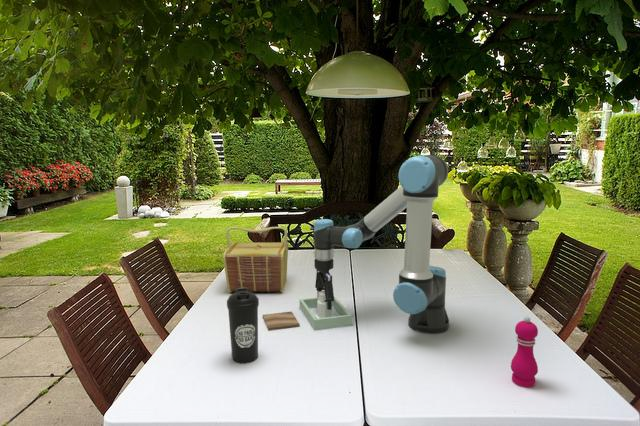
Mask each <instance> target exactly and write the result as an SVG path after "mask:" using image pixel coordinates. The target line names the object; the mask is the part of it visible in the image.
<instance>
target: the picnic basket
mask: <svg viewBox="0 0 640 426" xmlns="http://www.w3.org/2000/svg"><path fill="white" fill-rule="evenodd" d="M231 230H242V231H244V232H246V233H247V232H248V233H256V234H257V233H265V232H269V231H271V230H283V231H284V237H283V238H284V239H283V242H279V241H277V242H275V241H273V242H269V241H268V242H264V241H262V242H259V241H258V242H235V241H233V242H232V243H231V240H230V239H231V238H230V231H231ZM225 234H226V241H227V242H226V243H227V248H226V249H225V251H224V252H223V253H222V254H223V255H222V259H223V260H222V261H223V265H224V274H225V279H226V285H227V290H228V293H230V294H231V293H236V288H241V287H247V289H248V291H249V292H252V293H257V292H259V293H264V292H266V293H267V292H269V293H270V292H271V293H272V292H273V293H274V292H277V293H278V292H280V293H283V292H284V289H285V286H286V284H287V277H288V276H287V275H288V274H287V273H288V255H289V242H288V230H287V229H286V228H285V227H284V226H270V227H266V228H258V229H257V228H255V229H254V228H249V227H248V228H247V227H241V226H234V227H233V226H231V227H229V228H227V229H226V232H225Z"/></svg>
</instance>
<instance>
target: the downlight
mask: <svg viewBox="0 0 640 426" xmlns="http://www.w3.org/2000/svg"><path fill="white" fill-rule="evenodd" d="M324 300H326V298H325V292H324V290H322V292H319V300H318V301H317V307H316V309H317V312H316V314H315V317H316V319H318V318H326V317H325V302H324ZM332 317H334V315H333V313H332Z"/></svg>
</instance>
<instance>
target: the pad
mask: <svg viewBox="0 0 640 426" xmlns="http://www.w3.org/2000/svg"><path fill="white" fill-rule="evenodd" d="M262 319H263V321H264V323H265V325H266V328H267V330H268V331H277V330H284V329H292V328H299V327H301V326H300V322H299V321H298V319H297V318H296V316H295V314H294V313H293V311H283V312H276V313H266V314H262Z"/></svg>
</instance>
